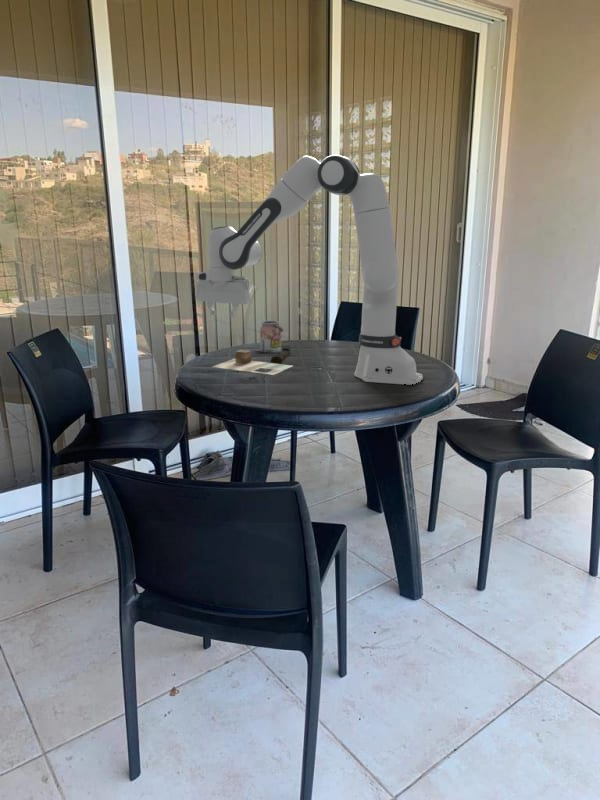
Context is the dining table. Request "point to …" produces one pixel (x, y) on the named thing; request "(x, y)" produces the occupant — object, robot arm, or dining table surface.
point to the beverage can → (270, 337)
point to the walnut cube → (243, 356)
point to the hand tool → (281, 355)
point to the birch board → (254, 367)
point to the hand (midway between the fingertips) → (223, 315)
